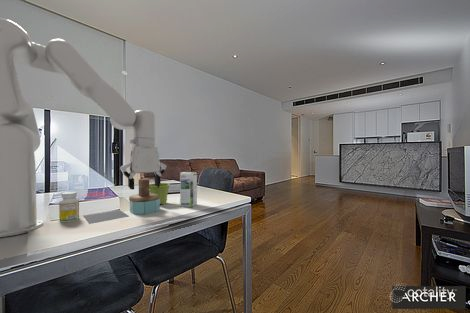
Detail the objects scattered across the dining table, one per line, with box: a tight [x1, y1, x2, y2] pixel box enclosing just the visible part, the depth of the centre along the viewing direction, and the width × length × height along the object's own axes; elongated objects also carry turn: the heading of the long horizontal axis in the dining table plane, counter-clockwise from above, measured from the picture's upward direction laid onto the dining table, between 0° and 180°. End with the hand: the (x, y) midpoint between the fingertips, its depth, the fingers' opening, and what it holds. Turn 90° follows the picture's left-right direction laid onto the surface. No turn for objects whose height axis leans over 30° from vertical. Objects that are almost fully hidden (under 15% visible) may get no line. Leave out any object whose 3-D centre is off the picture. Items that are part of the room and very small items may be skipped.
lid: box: [128, 178, 158, 202], centre depth 86 cm, size 10×10×8 cm
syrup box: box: [179, 171, 198, 208], centre depth 96 cm, size 6×6×14 cm
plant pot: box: [149, 182, 171, 205], centre depth 100 cm, size 9×9×9 cm
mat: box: [82, 209, 130, 225], centre depth 79 cm, size 12×12×1 cm
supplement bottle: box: [58, 191, 80, 223], centre depth 75 cm, size 5×5×10 cm
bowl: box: [129, 198, 161, 215], centre depth 86 cm, size 10×10×5 cm
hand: (145, 187), depth 86 cm, fingers open, 9 cm apart
